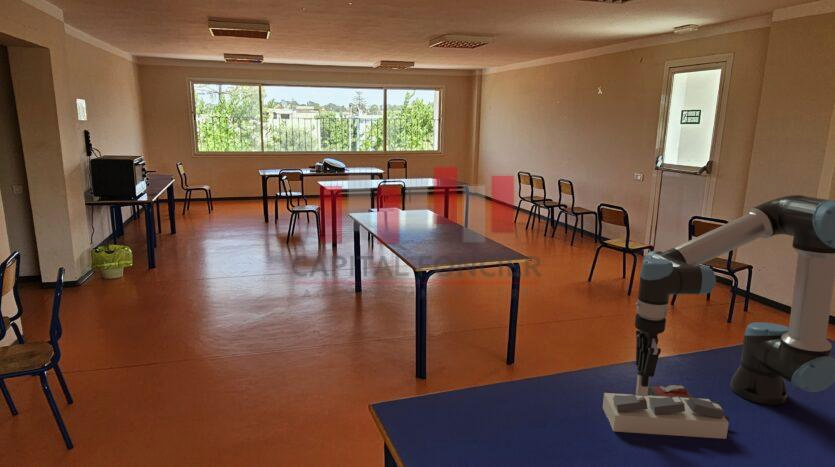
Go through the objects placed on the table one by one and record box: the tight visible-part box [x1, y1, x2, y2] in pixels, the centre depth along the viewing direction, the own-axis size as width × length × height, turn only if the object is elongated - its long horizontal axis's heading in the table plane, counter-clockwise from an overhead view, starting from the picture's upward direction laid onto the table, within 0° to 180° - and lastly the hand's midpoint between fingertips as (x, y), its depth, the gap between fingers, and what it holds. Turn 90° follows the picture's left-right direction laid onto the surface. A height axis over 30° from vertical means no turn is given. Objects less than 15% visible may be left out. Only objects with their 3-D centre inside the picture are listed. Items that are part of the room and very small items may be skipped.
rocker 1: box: [613, 393, 647, 413], centre depth 145 cm, size 8×4×3 cm, turn 84°
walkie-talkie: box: [648, 384, 720, 405], centre depth 160 cm, size 9×4×20 cm
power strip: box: [602, 392, 730, 440], centre depth 148 cm, size 33×12×5 cm, turn 84°
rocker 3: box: [687, 396, 726, 419], centre depth 143 cm, size 8×4×3 cm, turn 85°
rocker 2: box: [649, 396, 685, 415], centre depth 144 cm, size 8×4×3 cm, turn 84°
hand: (641, 394), depth 144 cm, fingers closed
